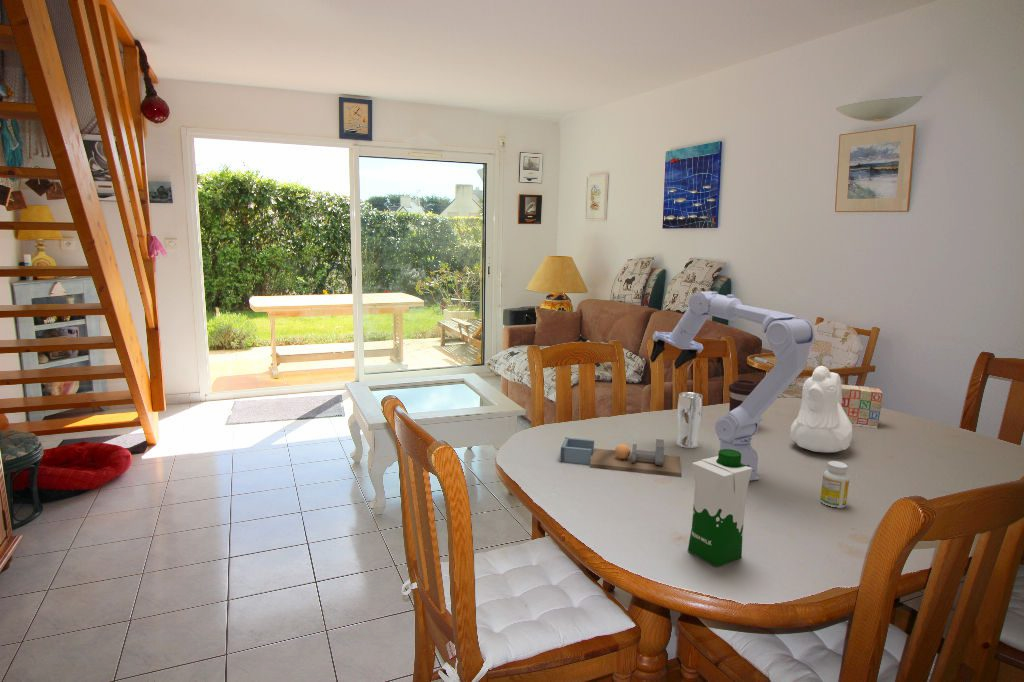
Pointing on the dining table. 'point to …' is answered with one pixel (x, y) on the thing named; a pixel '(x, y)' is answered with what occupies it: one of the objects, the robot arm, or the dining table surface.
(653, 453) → the grey h-shaped block
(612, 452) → the launcher board
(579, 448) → the cup
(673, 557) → the dining table surface
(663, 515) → the dining table surface
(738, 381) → the coffee cup
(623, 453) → the ball
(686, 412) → the silver soda can
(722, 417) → the robot arm
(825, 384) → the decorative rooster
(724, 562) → the milk carton
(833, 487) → the supplement bottle
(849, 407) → the stack of blocks
